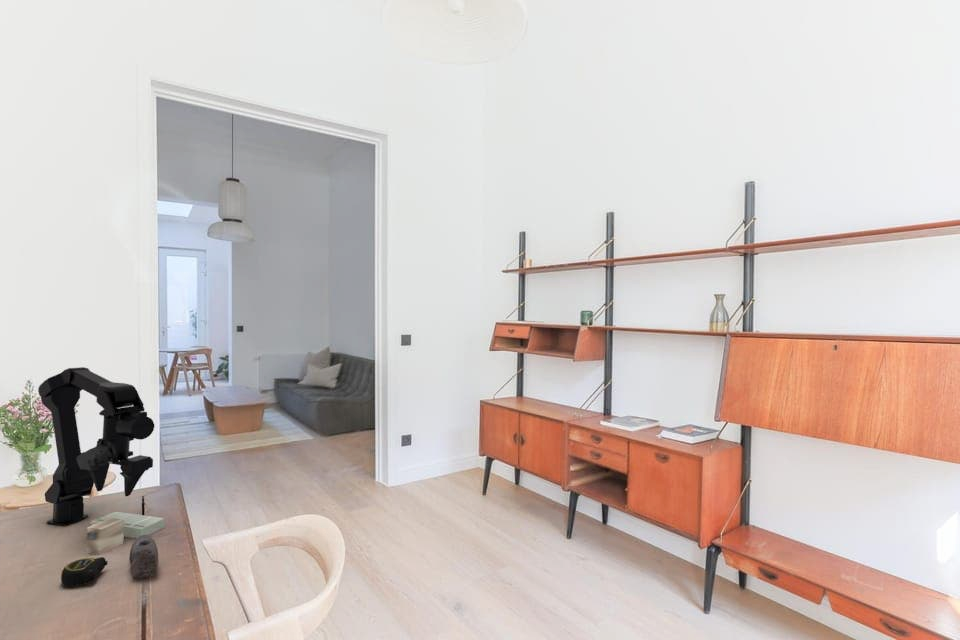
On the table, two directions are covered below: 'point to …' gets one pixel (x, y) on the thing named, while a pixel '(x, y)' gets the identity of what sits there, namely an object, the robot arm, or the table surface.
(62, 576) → the tape measure
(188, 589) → the table surface
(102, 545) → the stacked beige grey blocks
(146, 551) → the perforated stone tool
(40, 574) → the table surface
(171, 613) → the table surface
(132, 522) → the painted board
